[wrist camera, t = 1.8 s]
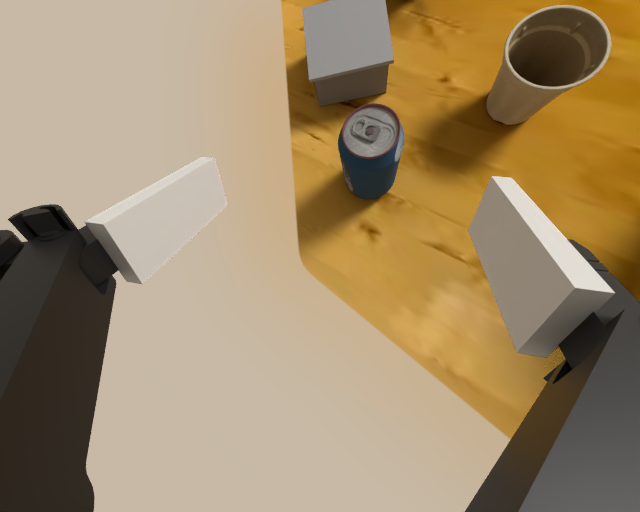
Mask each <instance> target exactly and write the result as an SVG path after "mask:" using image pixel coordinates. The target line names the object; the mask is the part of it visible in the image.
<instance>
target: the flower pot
mask: <svg viewBox="0 0 640 512" xmlns="http://www.w3.org/2000/svg"><path fill="white" fill-rule="evenodd" d="M610 50H611V36H610V33H609V30H608V28H607V27H606V25H605V23H604V22H603V21H602V20H601V19H600V18H599V17H598V16H597V15H596V14H595V13H593V12H591V11H589V10H586V9H584V8H581V7H578V6H571V5H555V6H550V7H547V8H543V9H540V10H538V11H536V12H533V13H532V14H530V15H528V16H526V17H525V18H524V19H522V20H521V21H520V22H519V23H518V24H517V25H516V26H515V27H514V28H513V30H512V31H511V33H510V34H509V36H508V38H507V40H506V43H505V47H504V56H503V62H502V66H501V68H500V70H499V73H498V75H497V77H496V80H495V82H494V84H493V87H492V89H491V91H490V93H489V95H488V98H487V102H486V107H487V111H488V113H489V115H490V116H491V117H492V119H494V120H496V121H500V122H502V123H504V124H506V125H513V124H519V123H521V122H524V121H526V120H527V119H529V118H530V117H531V116H533V115H534V114H535V113H536V112H538V111H539V110H540V109H542V108H543V107H544V106H546V105H547V104H548V103H550V102H551V101H552V100H554V99H555V98H556V97H558V96H559V95H560V94H562V93H563V92H565V91H567V90H569V89H571V88H573V87H576V86H578V85H580V84H582V83H584V82H586V81H587V80H589V79H590V78H592V77H593V76H594V75H595V74H596V73H598V71H599V70H600V69H601V68H602V67H603V66H604V64H605V63H606V61H607V59H608V57H609V54H610Z"/></svg>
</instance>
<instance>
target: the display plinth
mask: <svg viewBox="0 0 640 512" xmlns="http://www.w3.org/2000/svg"><path fill="white" fill-rule="evenodd" d="M302 10H303V21H304V31H305V42H306V53H307V64H308V74H309V82H310V83H311V82H314V84H315V88H316V91H317V95H318V99H319V103H320V107H321V106H326V105H330V104H335V103H340V102H344V101H349V100H353V99H358V98H363V97H367V96H372V95H377V94H381V93H386V86H387V76H388V66H389V64H392V63H394V57H393V50H392V43H391V36H390V29H389V22H388V14H387V7H386V0H330V1H327V2H323V3H320V4H317V5H313V6H310V7H306V8H303V9H302Z"/></svg>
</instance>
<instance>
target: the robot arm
mask: <svg viewBox="0 0 640 512" xmlns="http://www.w3.org/2000/svg"><path fill="white" fill-rule="evenodd" d="M227 206H228V204H227V201H226V197H225V193H224V190H223V186H222V182H221V179H220V175H219V171H218V168H217V164H216V160H215V158H210V157H201V158H199V159H197V160H195V161H194V162H192V163H190V164H188V165H186V166H185V167H183V168H181V169H179V170H177V171H176V172H174V173H172V174H170V175H168V176H166V177H165V178H163V179H161V180H159V181H157V182H156V183H154V184H152V185H150V186H148V187H147V188H145V189H143V190H141V191H139V192H138V193H136V194H134V195H132V196H131V197H128V198H127V199H125V200H123V201H121V202H119V203H118V204H116V205H114V206H112V207H111V208H109V209H107V210H105V211H103V212H102V213H100V214H98V215H96V216H94V217H92V218H90V219H89V220H87V221H85V223H86V226H84V227H83V228H81V229H79V230H78V229H77V228H76V226H75V225H74V223H73V222H72V221H71V220H70V218H69V217H68V215H67V214H66V213H65V211H64V210H63V209H62V207H61V206H59V205H51V204H50V205H42V206H37V207H33V208H30V209H27V210H24V211H21V212H19V213H17V214H15V215H13V216H12V217H10V218H9V219H8V220H9V221H10V222H11V223H12V224H13V225H14V226H15V227H16V229H17V230H18V231H19V232H20V233H21V234H22V235H23V236H24V237H25V238H26V239H27V240H28V241H27V242H21V241H20V240H19V239H18V237H17V236H16V235H15V234H14V233H13V232H12V231H9V230H0V512H93V511H94V492H93V487H92V484H91V482H90V480H89V478H88V476H87V473H86V458H87V453H88V447H89V441H90V435H91V429H92V423H93V417H94V411H95V406H96V400H97V394H98V388H99V382H100V376H101V371H102V364H103V358H104V353H105V347H106V341H107V335H108V329H109V324H110V317H111V312H112V306H113V300H114V294H115V288H116V280H115V279H114V277H113V276H112V274H114V273H115V272H116V271H117V270H119V271H120V273H121V274H122V276H123V277H124V279H125V280H126V281H127V282H133V283H138V284H143V283H145V282H146V281H147V280H148V279H149V278H150V277H151V276H152V275H153V274H154V273H155V272H157V271H158V270H159V269H160V268H161V267H162V266H163V265H164V264H165V263H166V262H167V261H168V260H169V259H170V258H172V256H174V255H175V254H176V253H177V252H178V251H179V250H180V249H181V248H182V247H183V246H185V245H186V244H187V243H188V242H189V241H190V240H191V239H192V238H193V237H194V236H195V235H196V234H198V233H199V231H201V230H202V229H203V228H204V227H205V226H206V225H207V224H208V223H209V222H210V221H211V220H212V219H214V218H215V217H216V216H217V215H218V214H219V213H220V212H221V211H222V210H223V209H225V208H226V207H227ZM468 231H469V234H470V236H471V239H472V241H473V244H474V247H475V249H476V252H477V254H478V257H479V259H480V262H481V264H482V267H483V269H484V272H485V274H486V277H487V279H488V282H489V284H490V287H491V289H492V292H493V294H494V297H495V299H496V302H497V304H498V307H499V309H500V312H501V315H502V317H503V320H504V322H505V325H506V327H507V330H508V332H509V335H510V337H511V340H512V342H513V345H514V347H515V350H516V352H517V353H522V354H527V355H533V356H538V357H544V358H547V357H548V356H549V355H550V354H551V353H552V352H553V351H554V350H555V349H556V348H557V347H558V346H559V347H560V349H561V351H562V352H563V354H564V356H565V358H566V359H565V360H564V361H563V362H562V363H561V364H560V365H558V366H557V367H556V368H555V369H554V370H552V371H551V372H550V373H549V374H548V375H547V376H545V377H544V378H543V379H545V380H546V381H547V384H546V386H545V387H544V389H543V390H542V392H541V393H540V395H539V397H538V398H537V400H536V401H535V403H534V404H533V406H532V407H531V409H530V411H529V412H528V414H527V415H526V417H525V418H524V420H523V422H522V423H521V425H520V426H519V428H518V429H517V431H516V432H515V434H514V436H513V437H512V439H511V440H510V442H509V444H508V445H507V447H506V448H505V450H504V451H503V453H502V455H501V456H500V458H499V459H498V461H497V462H496V464H495V465H494V467H493V469H492V470H491V472H490V473H489V475H488V476H487V478H486V479H485V481H484V483H483V484H482V486H481V487H480V489H479V490H478V492H477V494H476V495H475V497H474V498H473V500H472V501H471V503H470V505H469V506H468V508H467V509H466V511H465V512H640V303H639V302H638V301H637V300H636V299H635V298H634V297H633V296H632V294H631V293H630V292H629V291H628V290H627V289H626V288H625V287H624V286H623V285H622V284H621V283H620V282H619V281H618V280H617V279H616V278H615V277H614V276H613V275H612V274H611V273H608V269H607V268H606V267H605V266H604V265H603V264H602V263H599V260H598V259H597V258H596V257H595V256H594V255H593V254H592V253H591V252H590V251H589V250H588V249H586V248H585V247H583V246H582V245H580V244H578V243H577V242H575V241H574V240H569V239H566V238H565V237H564V235H563V234H562V233H561V232H560V231H559V230H558V229H557V228H556V227H555V225H554V224H553V223H552V222H551V221H550V220H549V219H548V218H547V217H546V215H545V214H544V213H543V212H542V211H541V210H540V209H539V208H538V207H537V205H536V204H535V203H534V202H533V201H532V200H531V199H530V198H529V196H528V195H527V194H526V193H525V192H524V191H523V190H522V189H521V188H520V186H519V185H518V184H517V183H516V182H515V181H514V180H513V179H512V178H509V177H494V176H491V178H490V181H489V183H488V186H487V188H486V190H485V193H484V195H483V197H482V200H481V202H480V204H479V207H478V209H477V211H476V214H475V216H474V218H473V221H472V223H471V225H470V228H469V230H468Z"/></svg>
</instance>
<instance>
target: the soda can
mask: <svg viewBox="0 0 640 512" xmlns="http://www.w3.org/2000/svg"><path fill="white" fill-rule="evenodd" d="M403 145H404V131H403V128H402V125H401V123H400V121H399V118H398V116H397V115H396V113H395V112H394V111H393V110H392V109H390V108H389V107H387V106H385V105H381V104H366V105H363V106H361V107H359V108H357V109H355V110H354V111H353V112H352V113H351V114H350V115H349V116H348V117H347V119H346V120H345V122H344V125H343V128H342V129H341V132H340V134H339V139H338V147H339V152H340V157H341V162H342V167H343V172H344V177H345V182H346V185H347V187H348V189H349V190H350V191H351V192H352V193H353V194H354V195H355V196H357V197H360V198H363V199H375V198H378V197H380V196H382V195H384V194H385V193H386V192H387V191H388V190H389V189H390V188H391V187H392V185H393V183H394V180H395V176H396V172H397V168H398V164H399V160H400V156H401V153H402V149H403Z"/></svg>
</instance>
